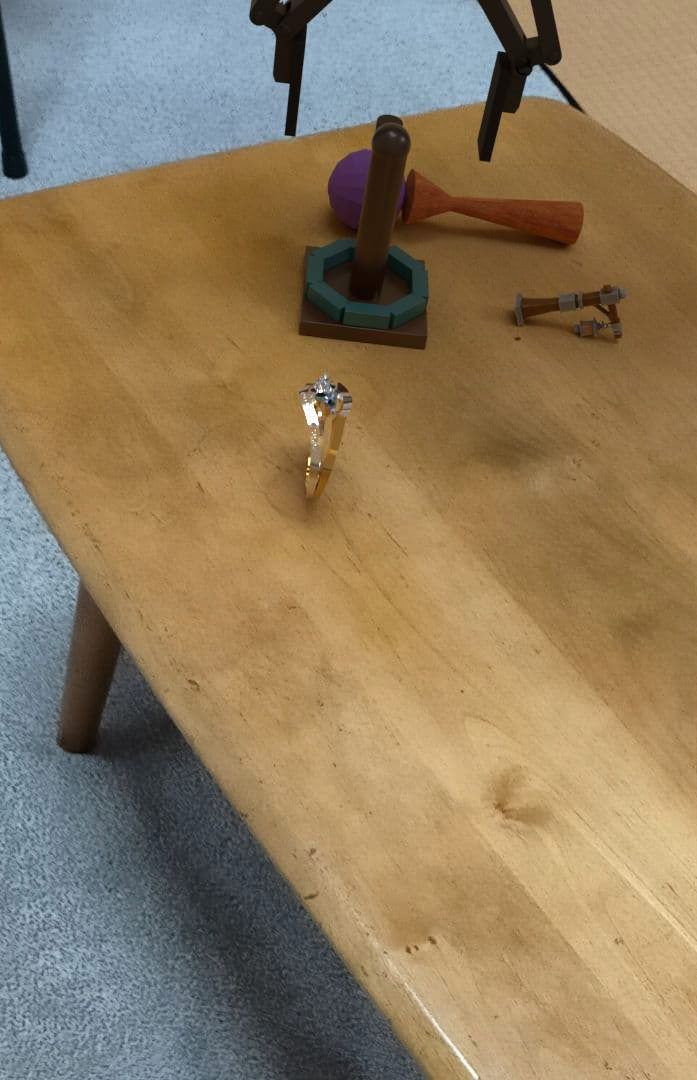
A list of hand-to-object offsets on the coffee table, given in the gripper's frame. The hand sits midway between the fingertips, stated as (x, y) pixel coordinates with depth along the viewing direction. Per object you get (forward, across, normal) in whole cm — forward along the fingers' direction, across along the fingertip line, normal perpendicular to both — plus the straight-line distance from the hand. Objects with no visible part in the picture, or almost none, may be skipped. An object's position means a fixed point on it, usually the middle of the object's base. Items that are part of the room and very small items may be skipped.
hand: (387, 139), depth 85 cm
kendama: (+11, +7, +7) cm, 15 cm away
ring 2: (+10, 0, -4) cm, 11 cm away
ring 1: (+11, -3, -23) cm, 26 cm away
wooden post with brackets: (+11, +15, -4) cm, 19 cm away
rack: (+11, 0, -4) cm, 12 cm away
